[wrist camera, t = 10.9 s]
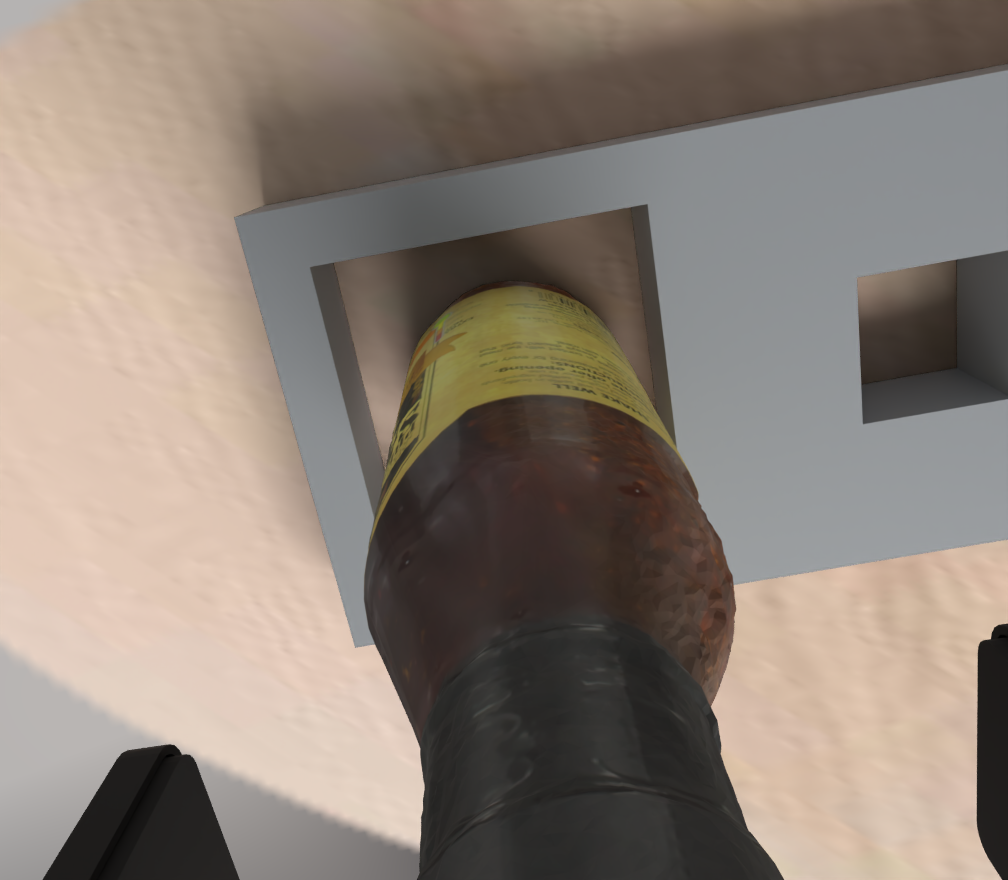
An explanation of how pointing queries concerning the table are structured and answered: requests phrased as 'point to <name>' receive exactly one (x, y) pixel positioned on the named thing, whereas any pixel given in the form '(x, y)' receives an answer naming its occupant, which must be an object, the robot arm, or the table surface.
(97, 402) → the table surface
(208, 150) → the table surface
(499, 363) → the sauce bottle
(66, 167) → the table surface
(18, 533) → the table surface
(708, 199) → the caddy
